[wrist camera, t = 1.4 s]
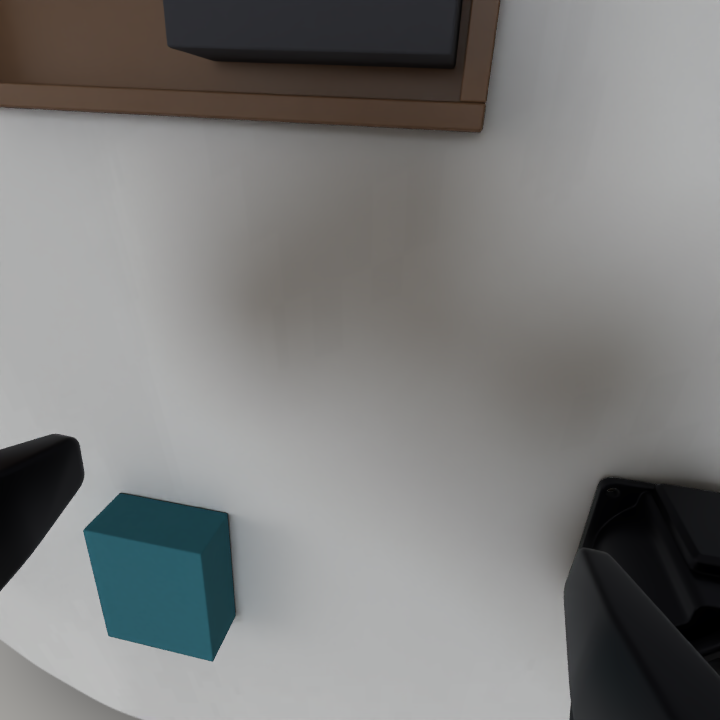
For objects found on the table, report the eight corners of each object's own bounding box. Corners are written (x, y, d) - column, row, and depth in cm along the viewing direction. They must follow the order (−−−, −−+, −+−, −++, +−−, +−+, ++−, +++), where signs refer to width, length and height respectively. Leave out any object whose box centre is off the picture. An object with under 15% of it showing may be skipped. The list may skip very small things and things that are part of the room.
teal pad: (236, 615, 30) (212, 662, 27) (139, 593, 31) (107, 636, 28) (228, 513, 27) (200, 554, 24) (119, 492, 28) (82, 529, 25)
